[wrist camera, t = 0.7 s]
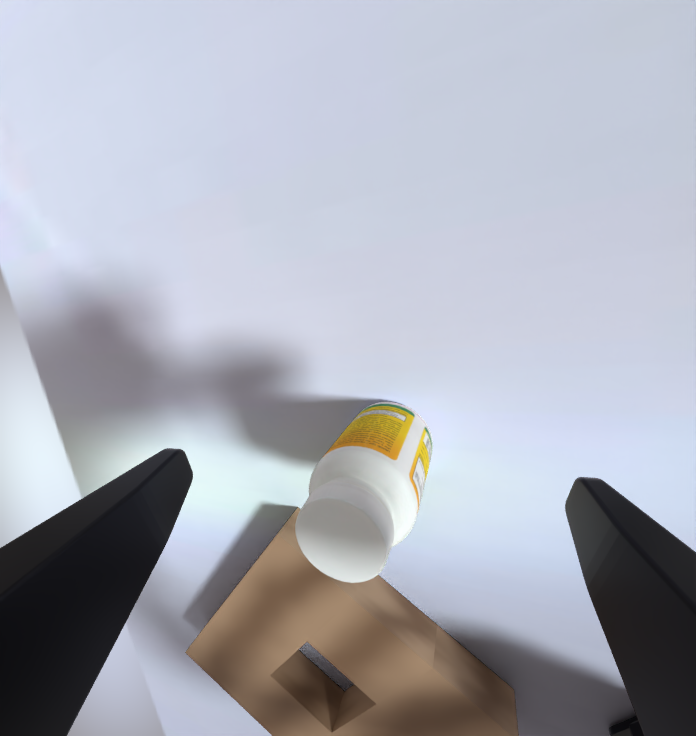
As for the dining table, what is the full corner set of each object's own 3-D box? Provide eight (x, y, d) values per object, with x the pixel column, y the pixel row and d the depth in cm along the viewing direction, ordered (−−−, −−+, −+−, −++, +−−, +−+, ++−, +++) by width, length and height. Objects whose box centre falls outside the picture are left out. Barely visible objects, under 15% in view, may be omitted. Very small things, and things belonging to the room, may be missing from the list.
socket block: (514, 689, 24) (519, 742, 22) (363, 767, 32) (353, 813, 30) (297, 507, 27) (277, 534, 24) (207, 622, 35) (185, 652, 32)
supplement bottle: (451, 447, 21) (436, 571, 12) (389, 487, 23) (339, 615, 15) (393, 382, 21) (339, 459, 13) (337, 428, 24) (258, 520, 15)
